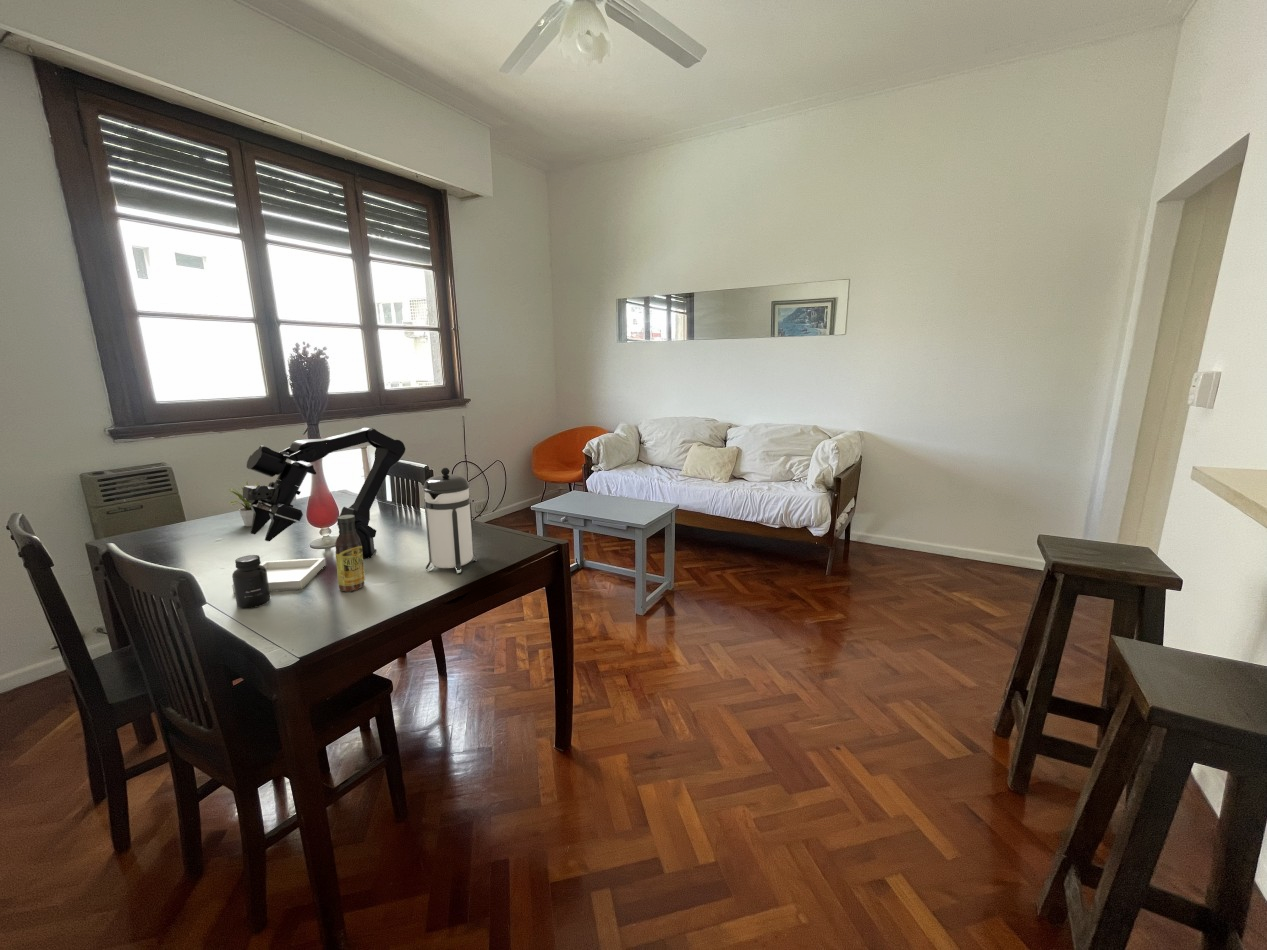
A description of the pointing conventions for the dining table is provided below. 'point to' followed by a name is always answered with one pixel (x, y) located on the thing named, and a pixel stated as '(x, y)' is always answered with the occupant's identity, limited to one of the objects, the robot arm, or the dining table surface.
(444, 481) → the coffee press
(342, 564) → the sauce bottle
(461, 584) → the dining table surface
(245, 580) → the supplement bottle
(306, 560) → the tray
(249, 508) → the house plant
